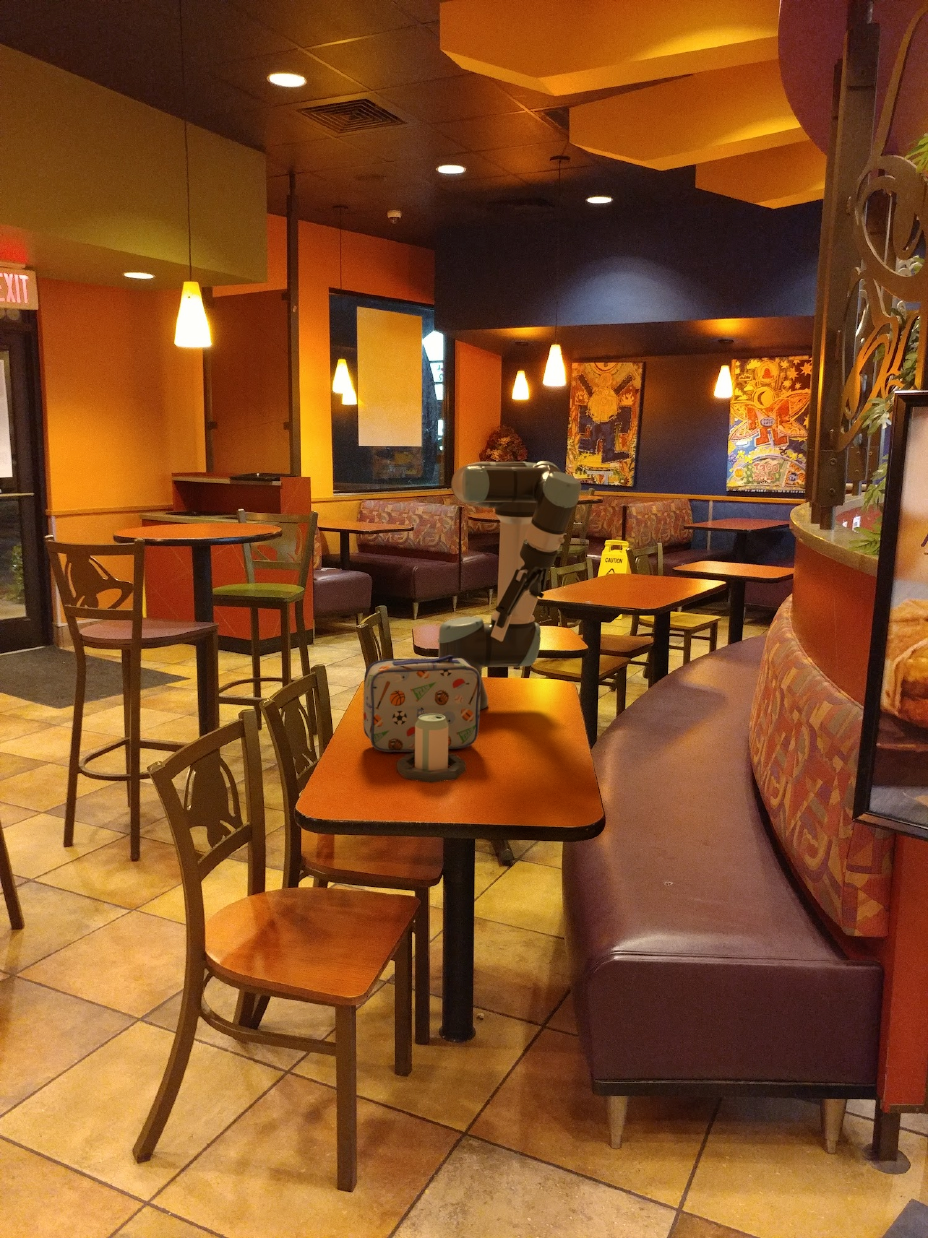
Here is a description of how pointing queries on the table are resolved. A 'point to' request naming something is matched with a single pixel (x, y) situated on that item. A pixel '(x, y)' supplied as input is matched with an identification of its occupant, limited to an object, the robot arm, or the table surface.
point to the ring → (431, 775)
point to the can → (431, 742)
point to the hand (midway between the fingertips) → (510, 629)
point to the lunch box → (420, 700)
